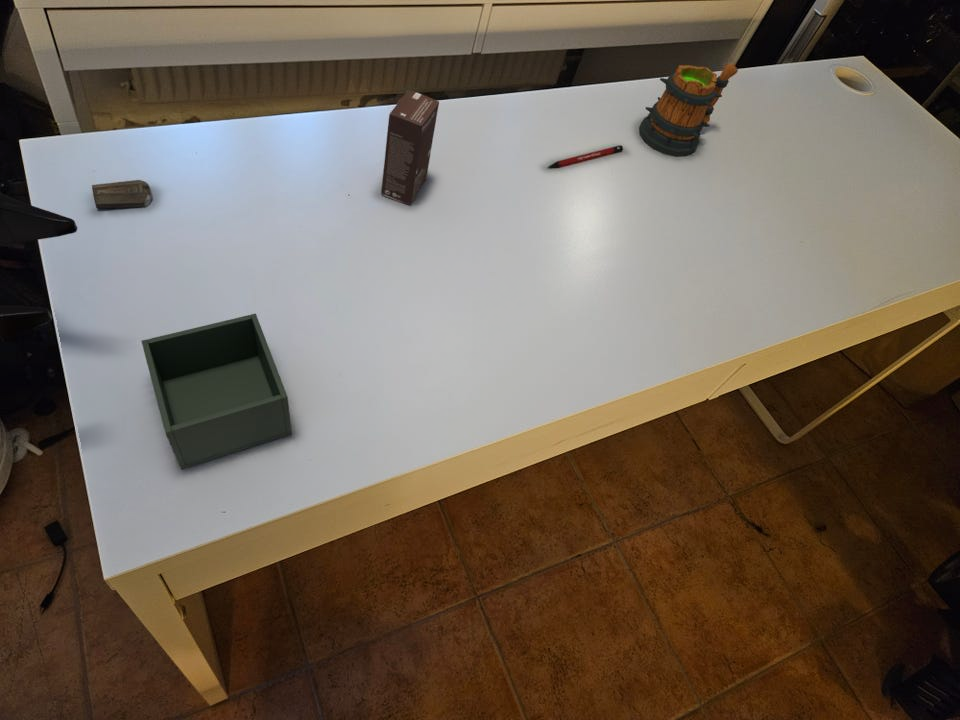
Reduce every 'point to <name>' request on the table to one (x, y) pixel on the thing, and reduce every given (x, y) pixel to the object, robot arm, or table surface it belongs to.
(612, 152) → the pencil
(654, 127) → the mug
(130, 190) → the block
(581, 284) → the table surface
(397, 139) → the box
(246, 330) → the bin
